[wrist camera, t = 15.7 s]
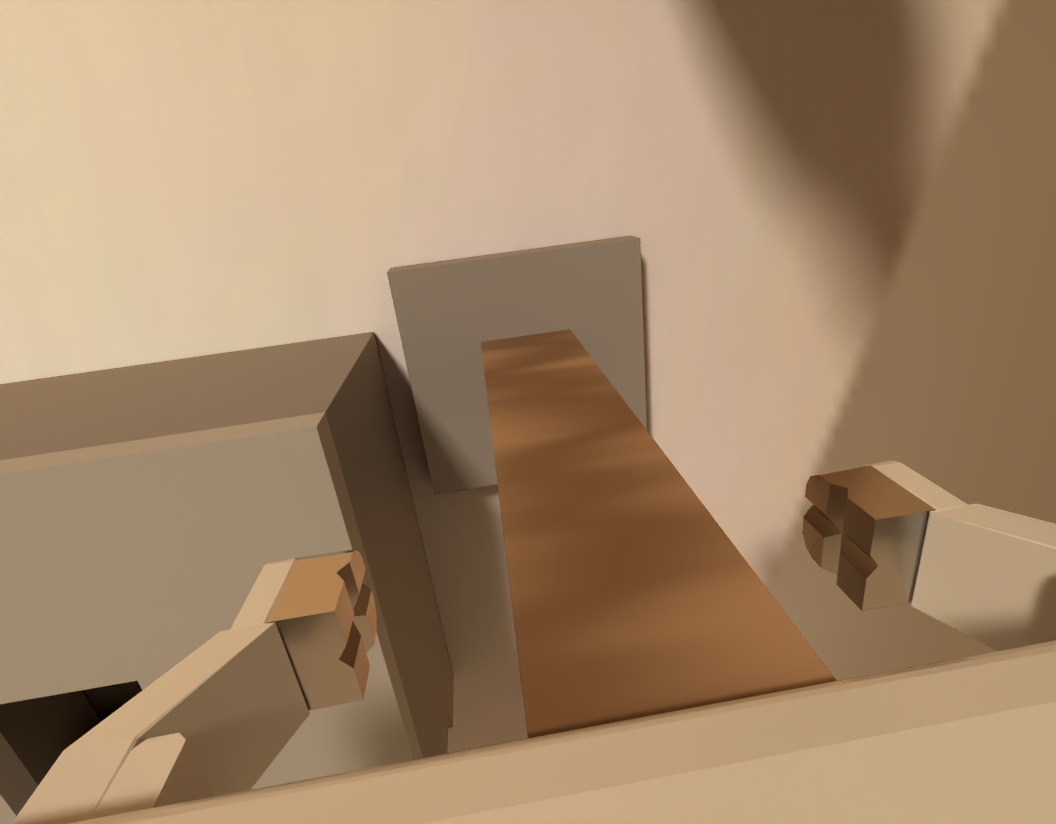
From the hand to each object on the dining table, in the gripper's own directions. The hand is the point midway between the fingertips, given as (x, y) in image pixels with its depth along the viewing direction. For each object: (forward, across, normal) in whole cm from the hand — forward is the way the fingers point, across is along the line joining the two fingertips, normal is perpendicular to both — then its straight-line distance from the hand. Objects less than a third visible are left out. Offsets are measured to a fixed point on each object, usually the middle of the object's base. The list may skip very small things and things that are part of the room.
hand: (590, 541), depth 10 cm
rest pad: (+11, 0, 0) cm, 11 cm away
